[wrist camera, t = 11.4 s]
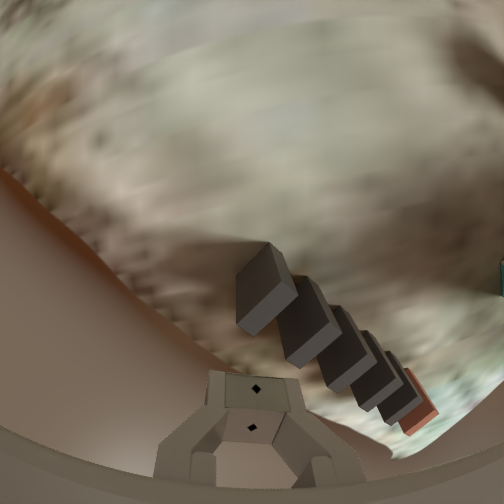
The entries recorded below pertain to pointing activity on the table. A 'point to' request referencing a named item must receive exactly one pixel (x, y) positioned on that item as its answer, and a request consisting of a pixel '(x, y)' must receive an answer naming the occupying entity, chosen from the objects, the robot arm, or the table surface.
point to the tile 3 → (345, 355)
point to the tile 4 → (375, 378)
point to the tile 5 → (399, 396)
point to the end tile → (418, 410)
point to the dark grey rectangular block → (263, 290)
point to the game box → (503, 275)
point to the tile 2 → (307, 324)
